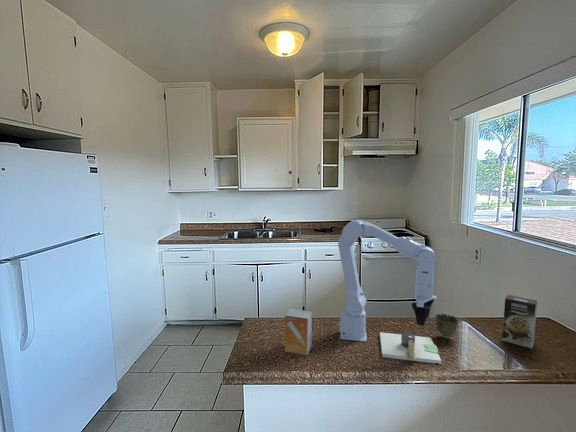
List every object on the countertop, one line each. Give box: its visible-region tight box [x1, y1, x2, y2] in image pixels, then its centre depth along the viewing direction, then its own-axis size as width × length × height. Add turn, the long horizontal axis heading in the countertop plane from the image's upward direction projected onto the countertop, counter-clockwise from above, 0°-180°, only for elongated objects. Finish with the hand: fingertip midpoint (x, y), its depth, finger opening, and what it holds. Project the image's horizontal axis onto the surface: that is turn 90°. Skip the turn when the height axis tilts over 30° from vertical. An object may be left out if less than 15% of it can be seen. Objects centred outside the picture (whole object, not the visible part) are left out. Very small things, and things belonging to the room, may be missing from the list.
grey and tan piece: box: [401, 332, 416, 358], centre depth 106 cm, size 11×4×4 cm, turn 167°
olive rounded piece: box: [435, 313, 459, 340], centre depth 117 cm, size 8×7×8 cm
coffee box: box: [501, 294, 538, 349], centre depth 114 cm, size 9×6×16 cm
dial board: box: [379, 331, 442, 365], centre depth 109 cm, size 19×18×1 cm
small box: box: [284, 308, 313, 356], centre depth 108 cm, size 8×6×13 cm
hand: (422, 320), depth 109 cm, fingers open, 7 cm apart
